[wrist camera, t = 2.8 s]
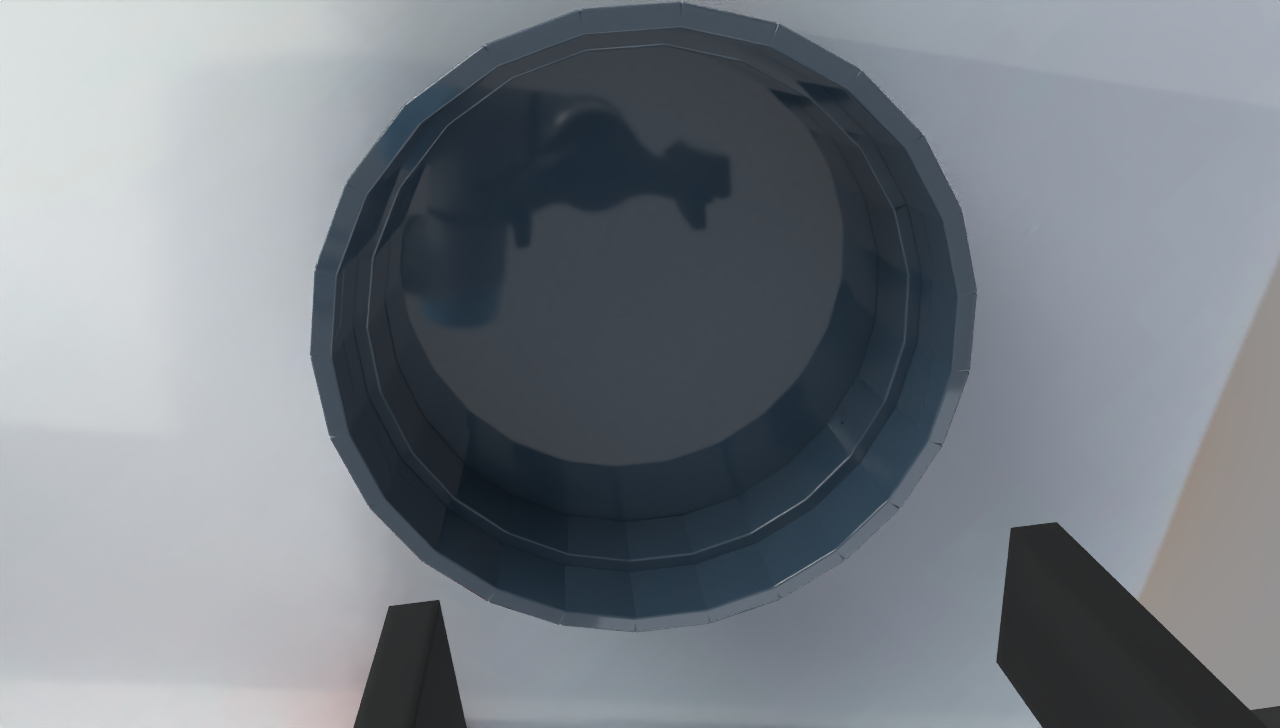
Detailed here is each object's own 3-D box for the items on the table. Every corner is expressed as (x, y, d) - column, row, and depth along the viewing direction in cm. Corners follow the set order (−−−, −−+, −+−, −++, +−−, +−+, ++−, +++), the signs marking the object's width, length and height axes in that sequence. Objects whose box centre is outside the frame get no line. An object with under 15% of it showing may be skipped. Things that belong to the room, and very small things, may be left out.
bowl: (237, 238, 27) (154, 291, 22) (722, -124, 25) (769, -170, 19) (574, 609, 34) (578, 721, 28) (980, 357, 31) (1071, 426, 26)
